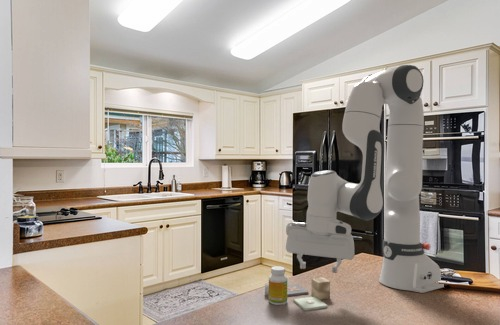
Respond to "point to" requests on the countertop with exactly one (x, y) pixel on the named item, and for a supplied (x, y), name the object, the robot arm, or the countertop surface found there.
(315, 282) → the block
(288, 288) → the pad
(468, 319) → the countertop surface
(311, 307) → the pad
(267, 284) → the light grey dome
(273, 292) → the supplement bottle
